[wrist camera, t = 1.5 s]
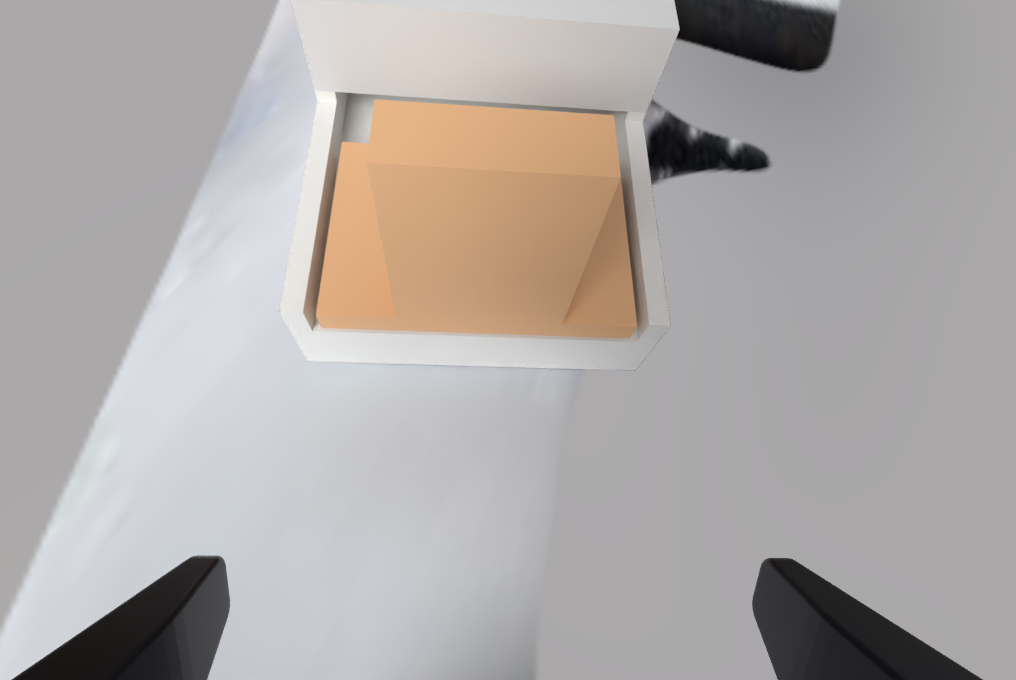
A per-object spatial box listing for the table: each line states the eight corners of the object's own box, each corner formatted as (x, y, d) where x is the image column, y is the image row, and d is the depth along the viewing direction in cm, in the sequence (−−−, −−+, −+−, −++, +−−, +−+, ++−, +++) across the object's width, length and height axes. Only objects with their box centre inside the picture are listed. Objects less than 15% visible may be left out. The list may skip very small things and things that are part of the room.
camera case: (635, 370, 25) (722, 259, 17) (308, 361, 24) (235, 236, 16) (599, 28, 34) (645, -151, 26) (361, 9, 33) (332, -184, 25)
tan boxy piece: (629, 338, 22) (732, 184, 14) (321, 328, 21) (241, 155, 13) (613, 174, 26) (688, -27, 17) (346, 158, 25) (294, -63, 16)
